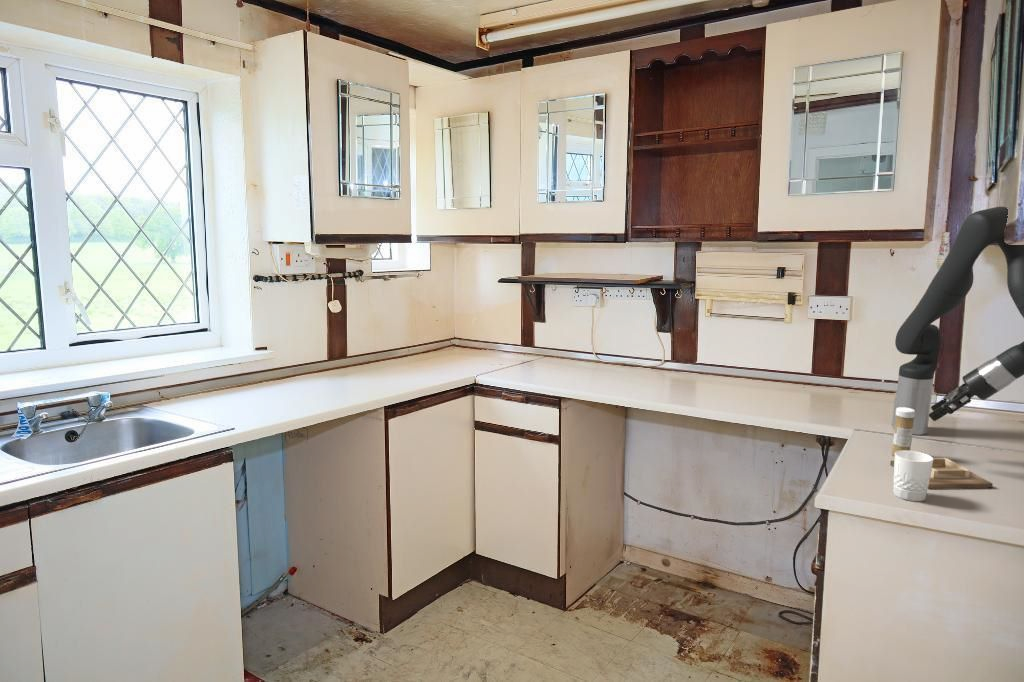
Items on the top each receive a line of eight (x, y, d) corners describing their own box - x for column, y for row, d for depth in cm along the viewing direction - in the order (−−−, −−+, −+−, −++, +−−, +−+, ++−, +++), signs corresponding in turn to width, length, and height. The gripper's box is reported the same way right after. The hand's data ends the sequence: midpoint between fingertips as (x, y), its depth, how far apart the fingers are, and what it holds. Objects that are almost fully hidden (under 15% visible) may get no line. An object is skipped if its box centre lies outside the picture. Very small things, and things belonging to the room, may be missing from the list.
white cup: (882, 491, 166) (887, 451, 164) (910, 488, 168) (914, 449, 166) (908, 504, 158) (912, 463, 156) (936, 501, 160) (941, 460, 158)
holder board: (890, 465, 183) (891, 453, 182) (949, 464, 183) (950, 453, 183) (927, 488, 167) (929, 476, 166) (992, 488, 167) (993, 475, 167)
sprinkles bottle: (893, 451, 193) (898, 405, 190) (912, 455, 190) (917, 408, 187) (889, 455, 190) (894, 409, 187) (907, 459, 187) (913, 412, 184)
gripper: (978, 362, 182) (923, 397, 191) (978, 372, 171) (919, 409, 179) (1000, 384, 180) (943, 418, 189) (1001, 395, 169) (941, 432, 177)
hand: (932, 414), depth 184 cm, fingers open, 8 cm apart
